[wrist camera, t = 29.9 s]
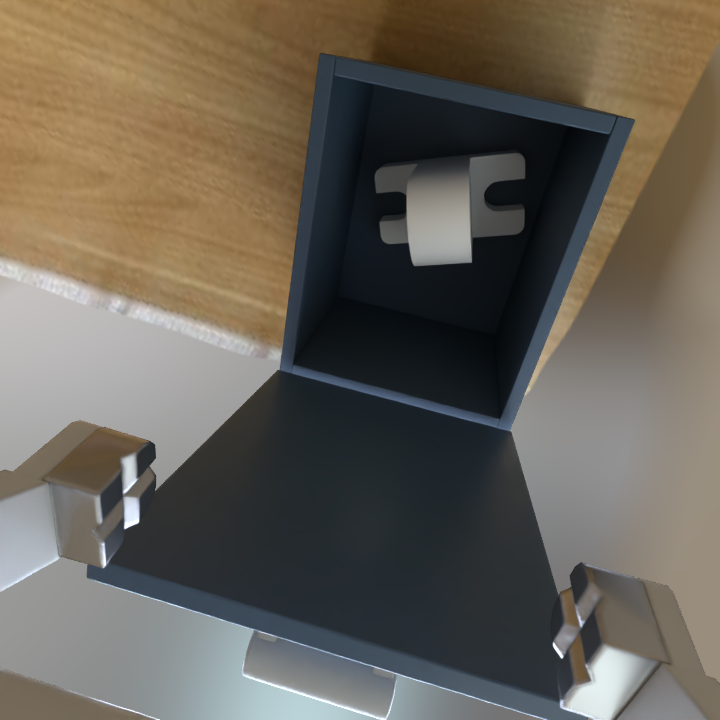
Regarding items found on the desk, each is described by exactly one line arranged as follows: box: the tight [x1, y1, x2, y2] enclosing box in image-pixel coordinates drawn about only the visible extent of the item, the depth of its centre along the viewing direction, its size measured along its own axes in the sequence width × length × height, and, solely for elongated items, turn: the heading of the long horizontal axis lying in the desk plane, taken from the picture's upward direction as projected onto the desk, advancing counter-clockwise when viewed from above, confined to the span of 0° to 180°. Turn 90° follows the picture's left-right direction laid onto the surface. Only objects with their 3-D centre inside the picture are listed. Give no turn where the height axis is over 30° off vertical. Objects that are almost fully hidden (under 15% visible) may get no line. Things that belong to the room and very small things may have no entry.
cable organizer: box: [375, 150, 525, 266], centre depth 34 cm, size 5×10×10 cm, turn 97°
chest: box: [280, 53, 635, 431], centre depth 34 cm, size 18×15×13 cm
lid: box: [87, 370, 589, 720], centre depth 24 cm, size 18×15×5 cm
